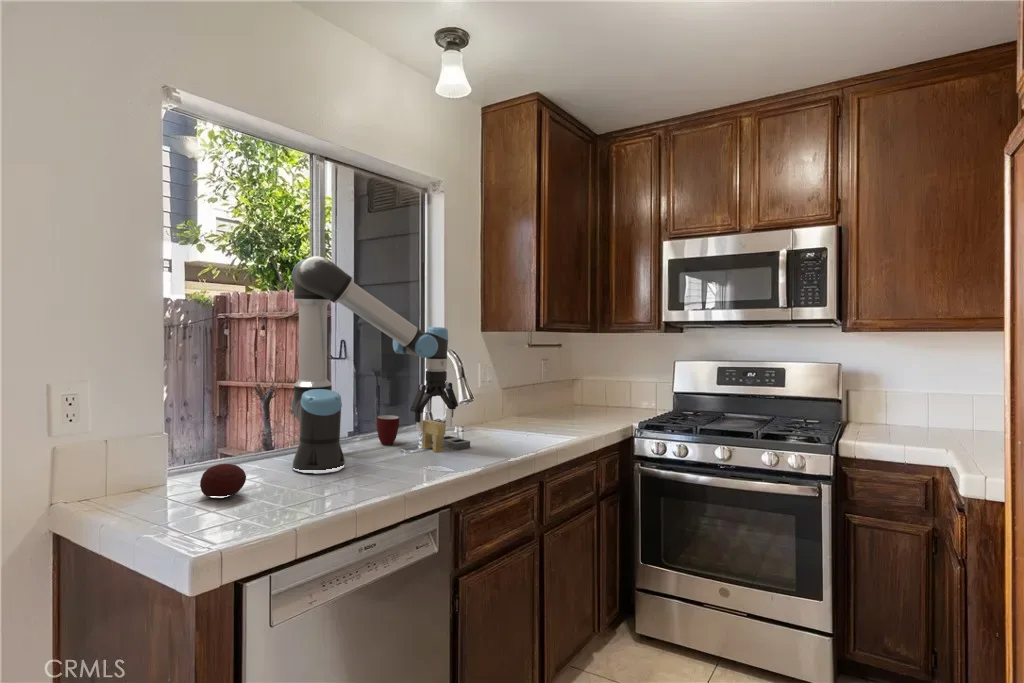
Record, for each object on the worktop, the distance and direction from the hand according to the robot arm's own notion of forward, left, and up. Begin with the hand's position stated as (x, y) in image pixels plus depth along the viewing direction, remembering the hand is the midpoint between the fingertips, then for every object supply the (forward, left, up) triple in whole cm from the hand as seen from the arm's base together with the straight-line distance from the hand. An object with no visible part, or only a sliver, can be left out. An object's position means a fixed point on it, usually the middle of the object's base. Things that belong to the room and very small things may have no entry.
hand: (434, 428), depth 209 cm
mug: (-8, +17, -8) cm, 20 cm away
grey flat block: (+9, 0, -8) cm, 12 cm away
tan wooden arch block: (0, 0, -8) cm, 8 cm away
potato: (-76, -9, -8) cm, 77 cm away
